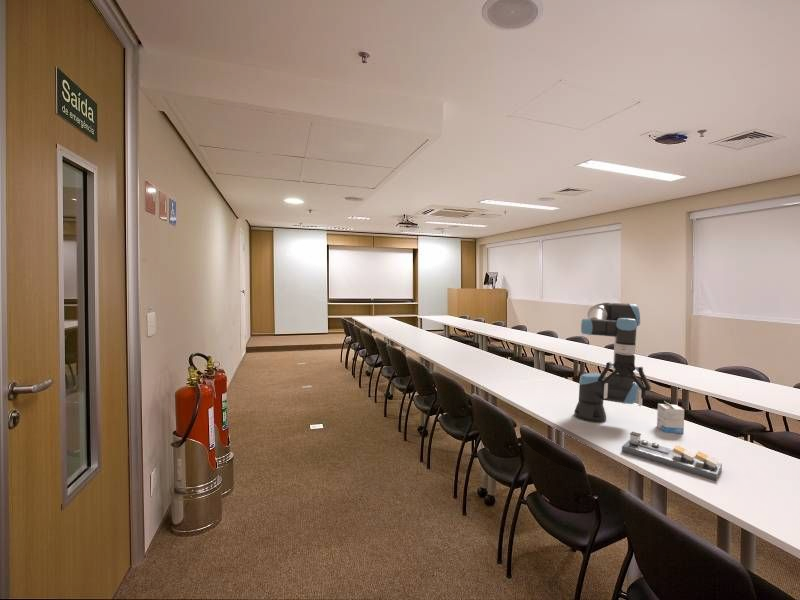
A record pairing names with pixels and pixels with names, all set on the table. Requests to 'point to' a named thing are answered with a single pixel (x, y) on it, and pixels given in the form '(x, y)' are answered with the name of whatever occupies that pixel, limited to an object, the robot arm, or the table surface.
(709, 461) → the rocker
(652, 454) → the console
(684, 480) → the table surface
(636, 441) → the slider
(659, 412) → the ink box
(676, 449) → the rocker
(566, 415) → the table surface
